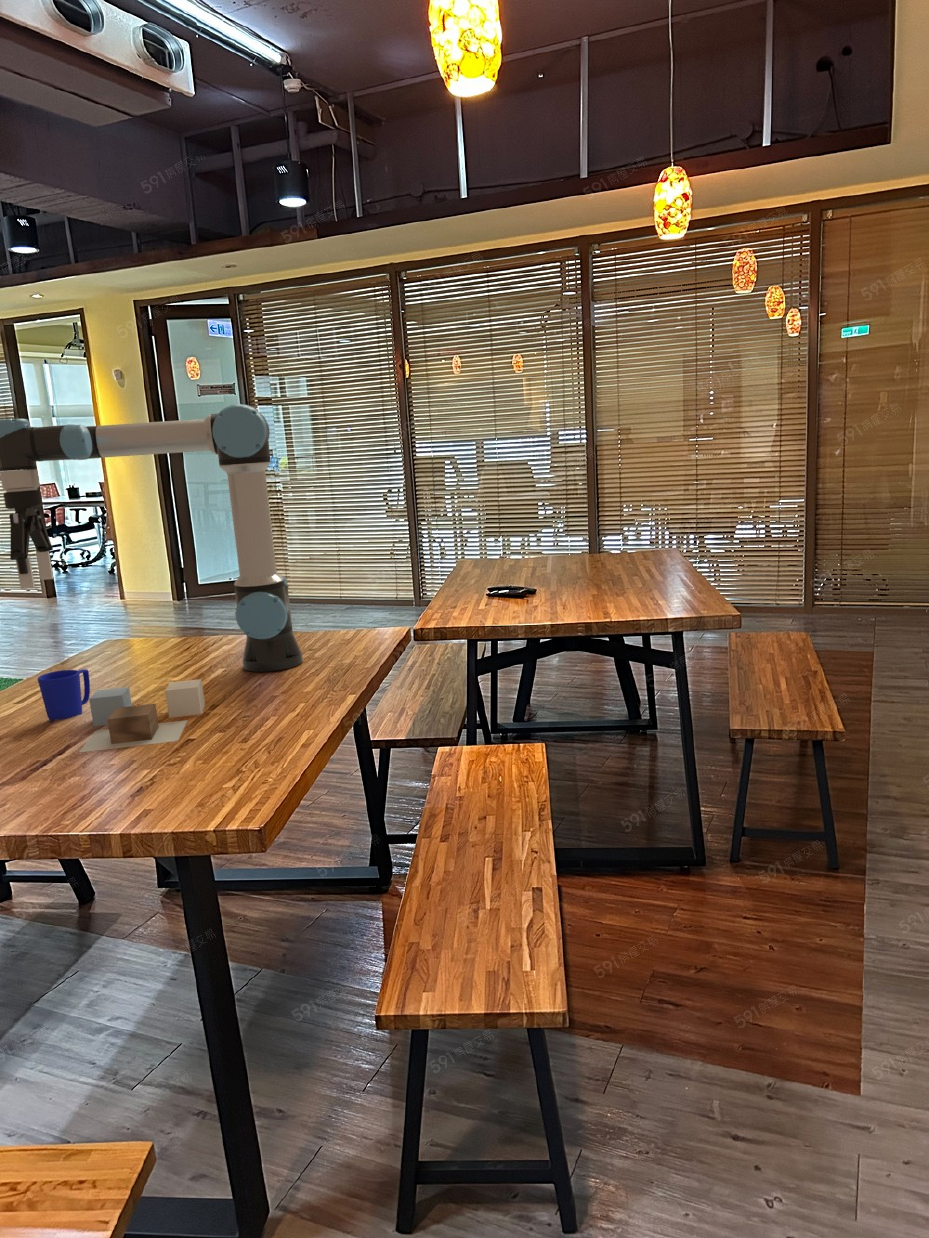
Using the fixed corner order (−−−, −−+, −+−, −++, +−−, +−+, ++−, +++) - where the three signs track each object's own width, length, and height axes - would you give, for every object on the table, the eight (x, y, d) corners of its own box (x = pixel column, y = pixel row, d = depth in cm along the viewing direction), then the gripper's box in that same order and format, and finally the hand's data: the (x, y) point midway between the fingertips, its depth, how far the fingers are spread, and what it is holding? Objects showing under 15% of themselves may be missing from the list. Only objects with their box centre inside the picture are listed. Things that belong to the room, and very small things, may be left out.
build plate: (188, 724, 176) (187, 720, 176) (178, 745, 163) (177, 740, 163) (96, 735, 173) (96, 730, 173) (79, 757, 160) (78, 752, 160)
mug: (107, 708, 192) (100, 665, 190) (66, 726, 181) (58, 680, 179) (78, 706, 195) (71, 664, 193) (36, 724, 183) (28, 679, 181)
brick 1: (133, 718, 183) (129, 686, 182) (127, 727, 177) (122, 695, 176) (102, 721, 182) (97, 690, 181) (94, 731, 176) (89, 698, 175)
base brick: (158, 727, 172) (155, 703, 171) (151, 739, 165) (148, 714, 164) (120, 731, 171) (116, 707, 170) (111, 744, 164) (107, 719, 163)
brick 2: (205, 710, 186) (201, 679, 184) (201, 719, 179) (197, 687, 178) (174, 713, 185) (170, 682, 183) (169, 722, 178) (165, 690, 177)
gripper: (22, 488, 202) (37, 577, 207) (-18, 494, 178) (0, 594, 182) (56, 486, 203) (70, 574, 208) (20, 491, 179) (37, 590, 184)
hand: (37, 583), depth 195 cm, fingers open, 13 cm apart
